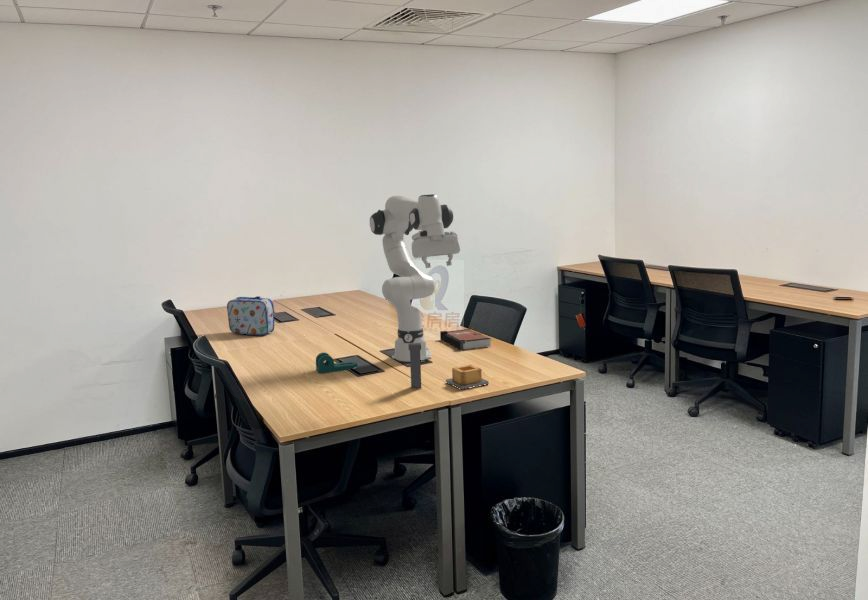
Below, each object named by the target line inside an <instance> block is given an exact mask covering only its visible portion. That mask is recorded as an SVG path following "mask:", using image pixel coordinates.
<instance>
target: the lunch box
mask: <svg viewBox="0 0 868 600" xmlns="http://www.w3.org/2000/svg"><path fill="white" fill-rule="evenodd" d="M274 306H275V305H274V302H273V301H272V299H270V298H269V297H261V296H260V295H259V296H255V297H251V296H250V297H249V296H238V297H236V298H234V299H231V300H229V301H227V304H226V309H227V319H228V326H229V327H228V328H229V330H230V331H231V333H233V334H236V333H237V334H236V335H243V334H246V336H264V335H267V333H268V334H270V333H269V332H271V333H273V332H274V329H275V314H276V313H277V312H276V309H275V307H274Z"/></svg>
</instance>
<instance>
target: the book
mask: <svg viewBox="0 0 868 600" xmlns="http://www.w3.org/2000/svg"><path fill="white" fill-rule="evenodd" d="M439 334H440V341H442V342H445V343H447V344H448V343H449V344H448V345H450V346H452V347H454V348H456V349H457V350H458V349H459V351H460V350H462V351H469V350H468V349H470V350H476V349H475V348H478V349H483V348H482V347H486V348H488V347H487V346H491V341H492V338H491V337H488V336H486V335H485V334H482V332H480V331H479V332H477V331H475V330H473V329H471V328H465V329H456V330H449V331H448V330H442V331H441V330H440V331H439Z"/></svg>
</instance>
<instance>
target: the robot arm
mask: <svg viewBox="0 0 868 600" xmlns="http://www.w3.org/2000/svg"><path fill="white" fill-rule="evenodd" d="M453 222H454V212H453V210H452V209H451V207H449V206H448V205H447V204H440V201H439V198H438V196H437V195H436V194H435V193H434V194H422V195H420V196H418V199H417V200H414V199H412V198H408V197H406V196H403V195H392V196H391V197H389V198H387V199H386V201H385V205H384V209H383V210H381V209H378V210H377V212H374V213H372V214H371V215H370V217H369V227H370V230H371V232H372V233H373V234H374V235H376V236H377V235H378V236H383V235H384V236H383V237H382V249H383V252H384V255H385V259H386V263H387V265H388V268H389V270H390V272H391V273H393V274H395V275H397V276H396V277H392V278H389V279H386V280H384V282H383V284H382V286H381V292H382V293H381V294H382V296H383V297H384V299H385V300H387V301H388V302H389V303H391V305H393V307H394V308H395V311H396V316H397V325H398V327H397V339H395V340H394V354H392V355H391V359H394V360H397V361H398V362H399V361H400V362H404V363H405V362H406V363H409V362H410V350H409V349H408V344H412V343H421V350H420V360H421V361H424V360H430V359H432V354H431V350H430V349H429V348H428V347H427V341H426V339H425V336H424V328H423V320H422V319H423V318H422V316H423V315H422V312H421V310H420V309H419V308H417V307H415V306H413V305H412V304H411V300H418V299H425V298H428V297H430V296H432V295H433V294H434V292H435V288H436V282H435V281H434V279H433V277H431V275H428V274H426V273H424V272H423V271H422V270H420V269H419V268H418V267H417V266H416V265H415V263H414V261H413V260H412V257H413V259H419V258H421V261H422V262H423V263H424V265H425V268H426V269H430V268H431V267H432V266H431V262H428V258H429V257H438V256H447V258H448V261H445V263H446V266H447V267H450V266H452V265H453V264H452V260H453V257H454V255H456V254H459V253H460V252H461V246H460V244H459V243H460V242H459V240H458V239H459V238H458V234H457V233H456V232H455V231H445V229H449V227H450V226H451V224H452V223H453ZM413 229H414V230H416V231H418V232H416V233H414V234H412V236H411V240H412V243H411V253H412V254H411V255H412V257H411V255H410V252H409V249H408V246H407V244H406V243H405V242H406V241H405V239H404V235H406V236H409V235H410V232H412V231H413Z"/></svg>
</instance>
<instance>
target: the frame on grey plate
mask: <svg viewBox="0 0 868 600" xmlns="http://www.w3.org/2000/svg"><path fill="white" fill-rule="evenodd" d="M451 369H452V370H451V371H452V372H451V373H452V378H447V379H445V383H446V382H447V383H449V384H451V385H454V386H456V387H458V388H460V389H464V388H469V387H473V386H479V385H484V384H489V380H487V379H484V378H483V377H482V368H481V367H477V366H475V365H473V364H468V365H462V366H457V367H451ZM447 383H446V384H447ZM449 384H448V385H449ZM451 385H450V386H451Z"/></svg>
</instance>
